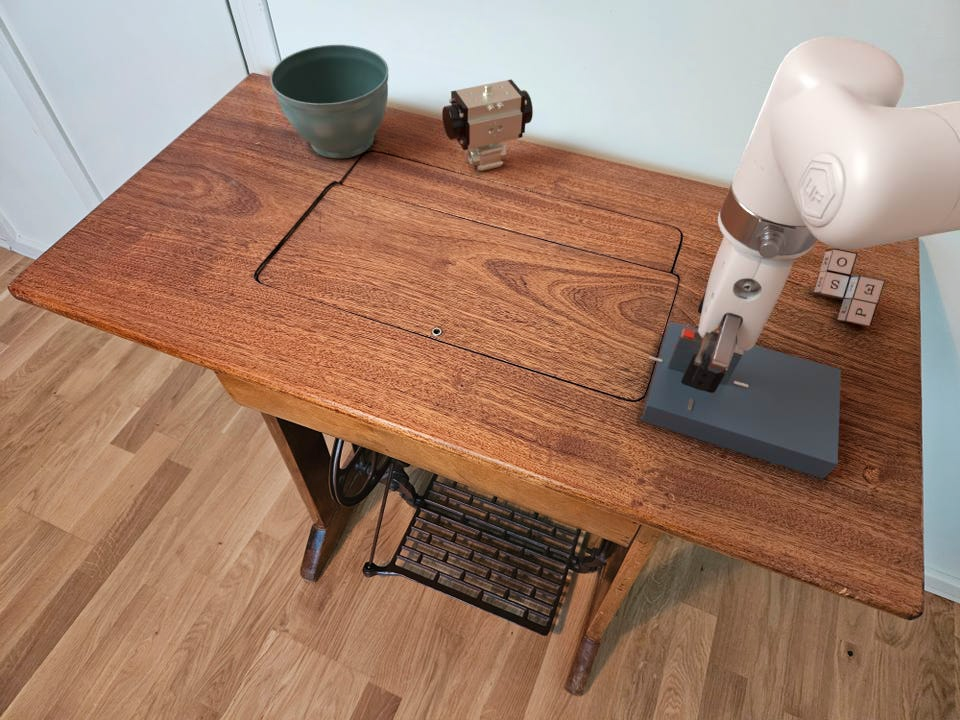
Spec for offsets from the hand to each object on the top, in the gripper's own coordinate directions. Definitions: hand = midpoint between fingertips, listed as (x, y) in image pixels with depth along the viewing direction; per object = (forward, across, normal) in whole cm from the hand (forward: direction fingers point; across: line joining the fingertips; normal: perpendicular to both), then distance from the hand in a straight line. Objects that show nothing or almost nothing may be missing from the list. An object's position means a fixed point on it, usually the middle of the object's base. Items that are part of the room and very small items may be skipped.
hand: (705, 349), depth 62 cm
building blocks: (+7, +19, -15) cm, 25 cm away
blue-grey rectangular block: (+6, 0, -5) cm, 8 cm away
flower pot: (+7, +26, +57) cm, 63 cm away
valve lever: (+3, 0, 0) cm, 3 cm away
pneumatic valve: (+7, +29, +34) cm, 45 cm away
